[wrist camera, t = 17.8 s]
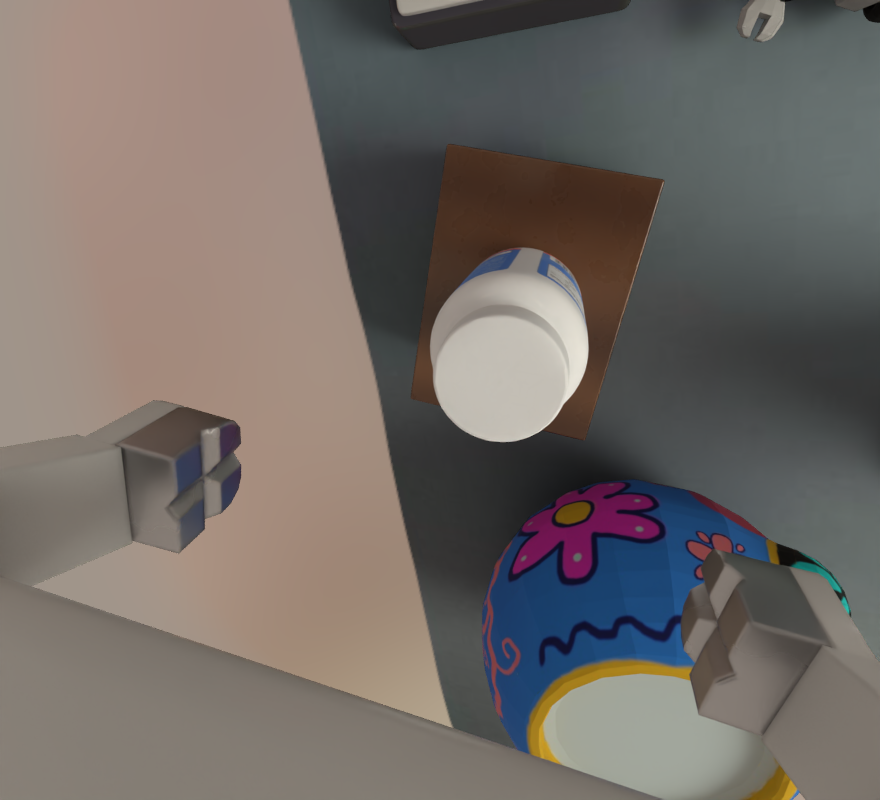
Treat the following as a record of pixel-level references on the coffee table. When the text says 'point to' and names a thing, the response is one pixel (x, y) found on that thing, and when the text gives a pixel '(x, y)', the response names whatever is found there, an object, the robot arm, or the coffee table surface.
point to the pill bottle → (510, 345)
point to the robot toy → (770, 5)
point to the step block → (541, 247)
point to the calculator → (485, 17)
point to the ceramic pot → (622, 641)
